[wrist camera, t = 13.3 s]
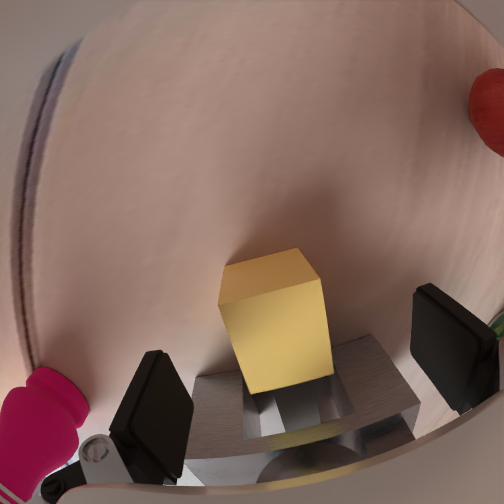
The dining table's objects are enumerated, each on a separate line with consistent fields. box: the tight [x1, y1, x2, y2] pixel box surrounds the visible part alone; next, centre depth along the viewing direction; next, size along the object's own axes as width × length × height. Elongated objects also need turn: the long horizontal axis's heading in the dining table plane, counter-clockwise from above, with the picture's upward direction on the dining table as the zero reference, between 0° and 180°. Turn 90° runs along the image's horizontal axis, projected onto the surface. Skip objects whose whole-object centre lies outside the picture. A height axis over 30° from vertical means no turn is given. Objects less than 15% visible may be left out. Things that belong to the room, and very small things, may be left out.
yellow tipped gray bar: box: [218, 248, 334, 432], centre depth 15 cm, size 4×20×5 cm, turn 14°
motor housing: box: [184, 334, 421, 486], centre depth 12 cm, size 12×5×12 cm, turn 104°
